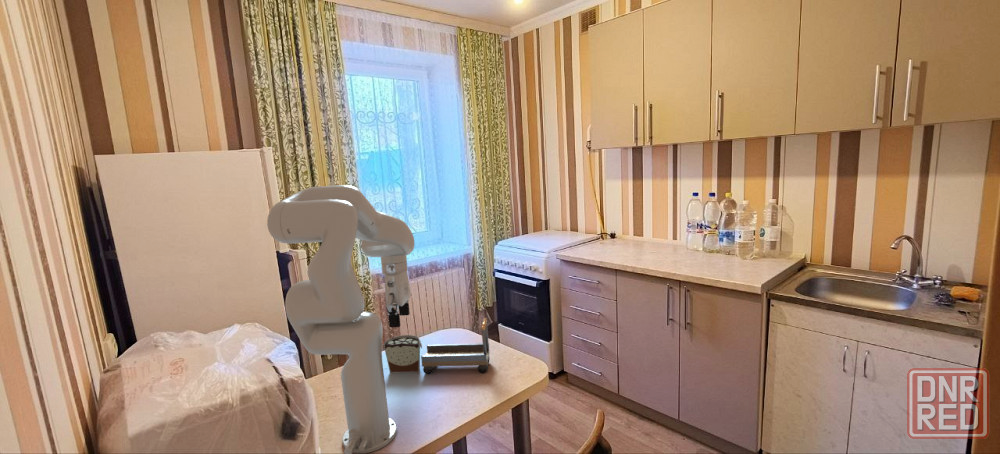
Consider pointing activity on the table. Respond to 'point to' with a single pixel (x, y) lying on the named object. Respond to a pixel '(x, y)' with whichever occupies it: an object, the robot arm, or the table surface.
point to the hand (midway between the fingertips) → (400, 320)
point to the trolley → (458, 354)
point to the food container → (403, 354)
